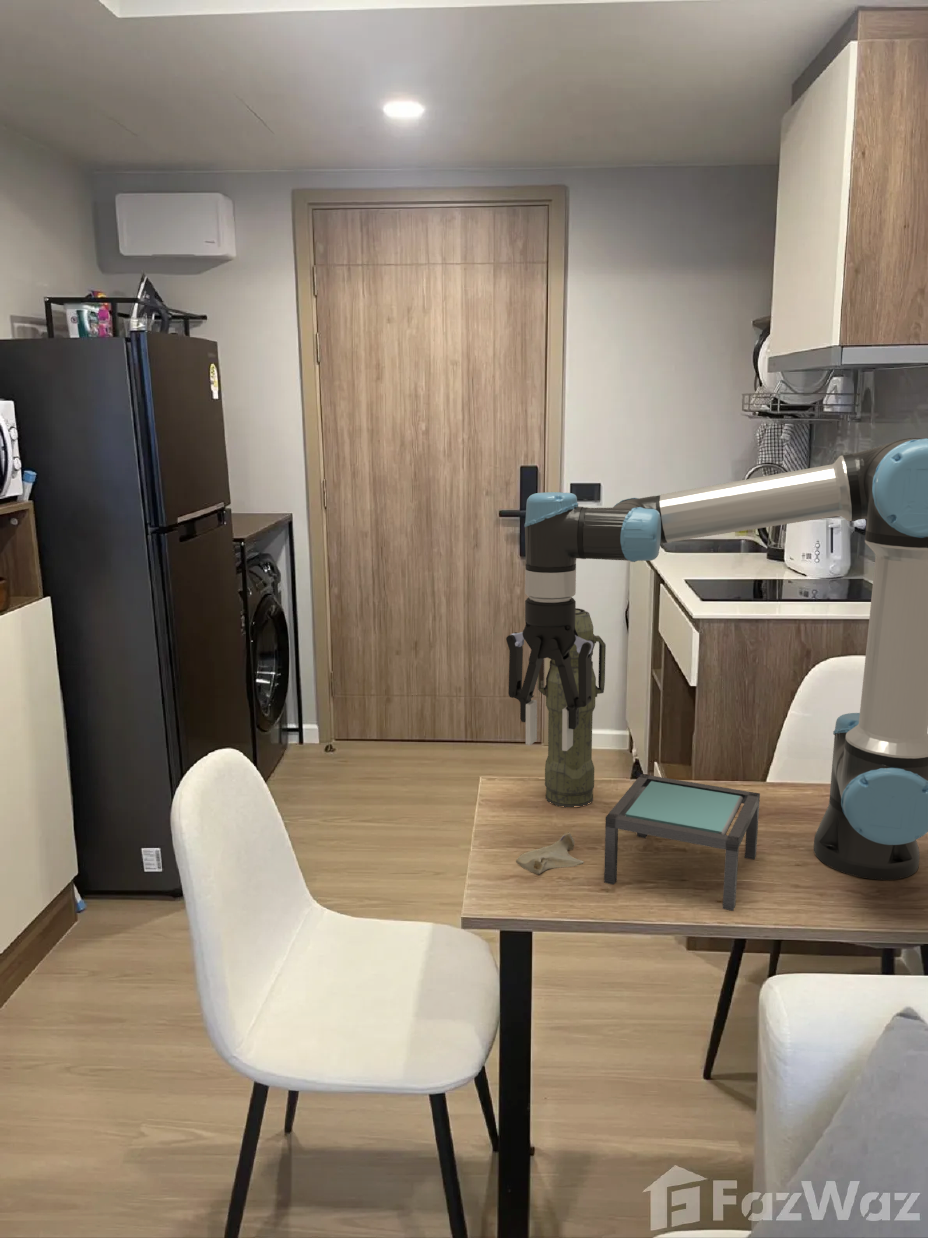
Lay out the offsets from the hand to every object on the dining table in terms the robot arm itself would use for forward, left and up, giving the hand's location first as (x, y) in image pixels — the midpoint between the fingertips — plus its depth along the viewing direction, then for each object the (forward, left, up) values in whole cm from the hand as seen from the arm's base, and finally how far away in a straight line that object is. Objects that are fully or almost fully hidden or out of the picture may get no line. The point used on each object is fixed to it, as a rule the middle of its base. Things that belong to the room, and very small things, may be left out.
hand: (549, 744), depth 142 cm
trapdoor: (-20, -5, -9) cm, 23 cm away
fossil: (-1, +1, -19) cm, 19 cm away
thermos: (+5, -23, -19) cm, 30 cm away
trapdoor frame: (-20, -5, -19) cm, 28 cm away
